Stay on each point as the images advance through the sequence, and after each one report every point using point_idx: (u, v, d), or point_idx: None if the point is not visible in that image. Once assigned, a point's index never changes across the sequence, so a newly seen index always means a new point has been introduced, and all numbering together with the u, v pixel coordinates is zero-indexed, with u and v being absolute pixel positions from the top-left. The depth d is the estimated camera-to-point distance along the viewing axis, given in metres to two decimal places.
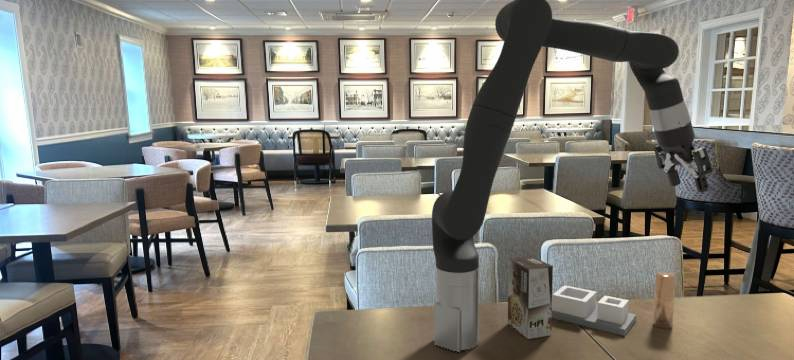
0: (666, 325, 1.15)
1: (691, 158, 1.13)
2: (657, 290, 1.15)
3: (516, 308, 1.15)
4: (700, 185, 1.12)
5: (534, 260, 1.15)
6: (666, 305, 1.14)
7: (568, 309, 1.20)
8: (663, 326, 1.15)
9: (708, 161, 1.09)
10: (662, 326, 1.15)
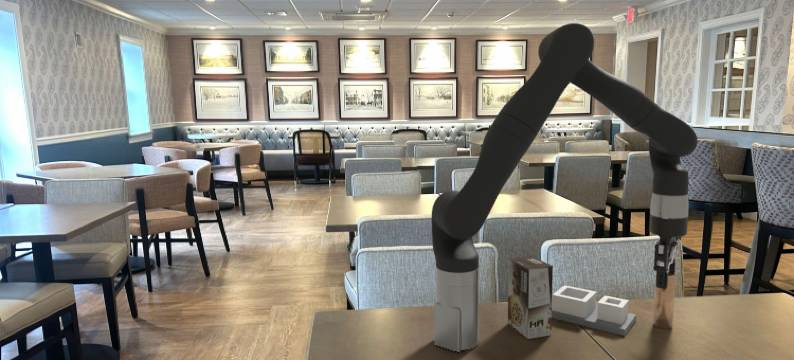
0: (666, 325, 1.15)
1: None
2: (657, 290, 1.15)
3: (516, 308, 1.15)
4: (657, 280, 1.12)
5: (534, 260, 1.15)
6: (666, 305, 1.14)
7: (568, 309, 1.20)
8: (663, 326, 1.15)
9: (664, 260, 1.08)
10: (662, 326, 1.15)
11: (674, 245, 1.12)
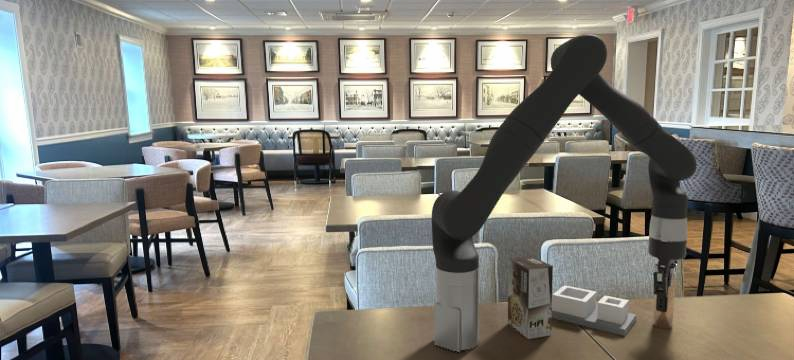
0: (666, 325, 1.15)
1: None
2: None
3: (516, 308, 1.15)
4: (657, 303, 1.14)
5: (534, 260, 1.15)
6: None
7: (568, 309, 1.20)
8: (663, 326, 1.15)
9: (664, 287, 1.10)
10: (662, 326, 1.15)
11: (672, 268, 1.12)
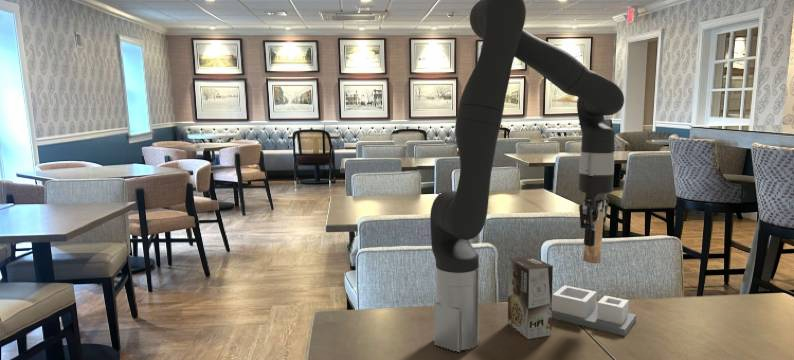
0: (594, 259, 1.18)
1: (591, 211, 1.16)
2: None
3: (516, 308, 1.15)
4: None
5: (534, 260, 1.15)
6: None
7: (568, 309, 1.20)
8: (591, 260, 1.18)
9: (589, 219, 1.13)
10: (590, 260, 1.18)
11: (599, 203, 1.15)
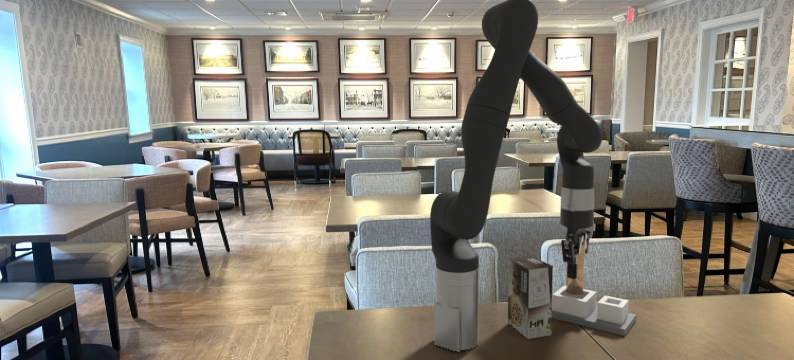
0: (576, 291, 1.21)
1: (573, 245, 1.19)
2: None
3: (516, 308, 1.15)
4: (568, 270, 1.20)
5: (534, 260, 1.15)
6: None
7: (568, 309, 1.20)
8: (574, 292, 1.21)
9: (571, 254, 1.16)
10: (573, 292, 1.21)
11: (580, 237, 1.18)
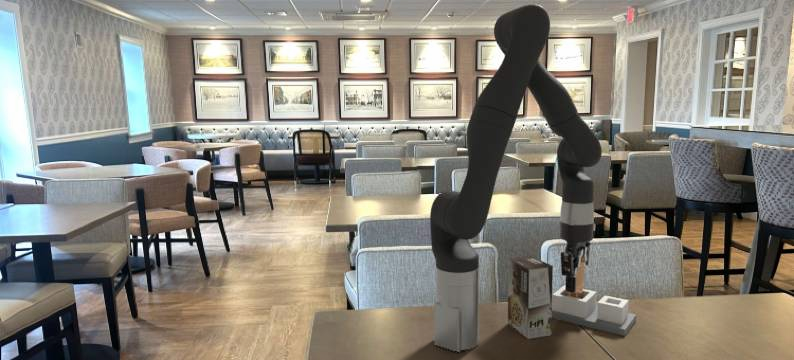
0: None
1: (573, 258, 1.19)
2: None
3: (516, 308, 1.15)
4: None
5: (534, 260, 1.15)
6: None
7: (568, 309, 1.20)
8: None
9: (570, 267, 1.16)
10: None
11: (580, 250, 1.19)
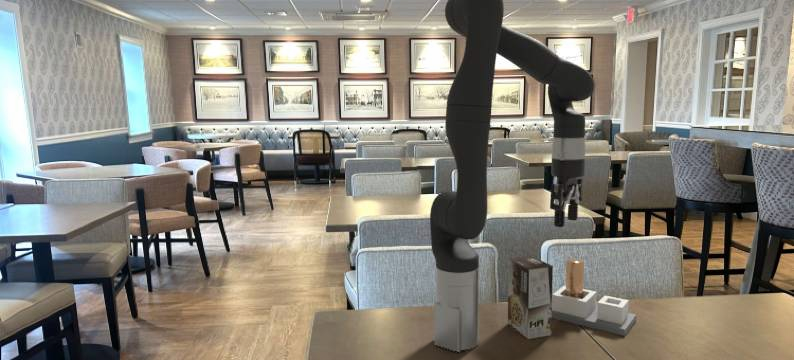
0: None
1: (563, 193, 1.18)
2: (567, 275, 1.22)
3: (516, 308, 1.15)
4: None
5: (534, 260, 1.15)
6: (575, 289, 1.21)
7: (568, 309, 1.20)
8: None
9: (559, 198, 1.15)
10: None
11: (571, 186, 1.18)
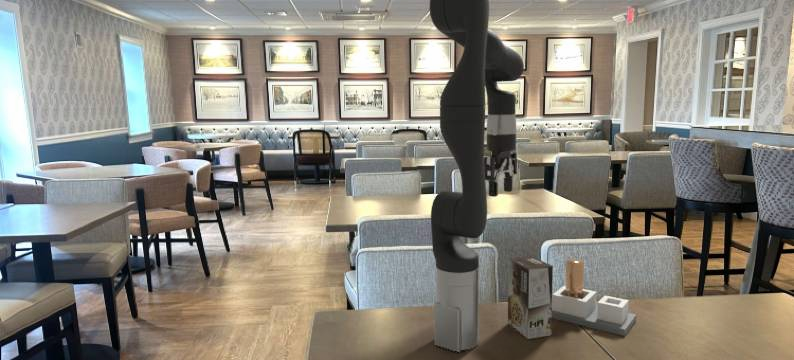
0: None
1: (496, 165, 1.29)
2: (567, 275, 1.22)
3: (516, 308, 1.15)
4: None
5: (534, 260, 1.15)
6: (575, 289, 1.21)
7: (568, 309, 1.20)
8: None
9: (491, 169, 1.26)
10: None
11: (504, 159, 1.29)
